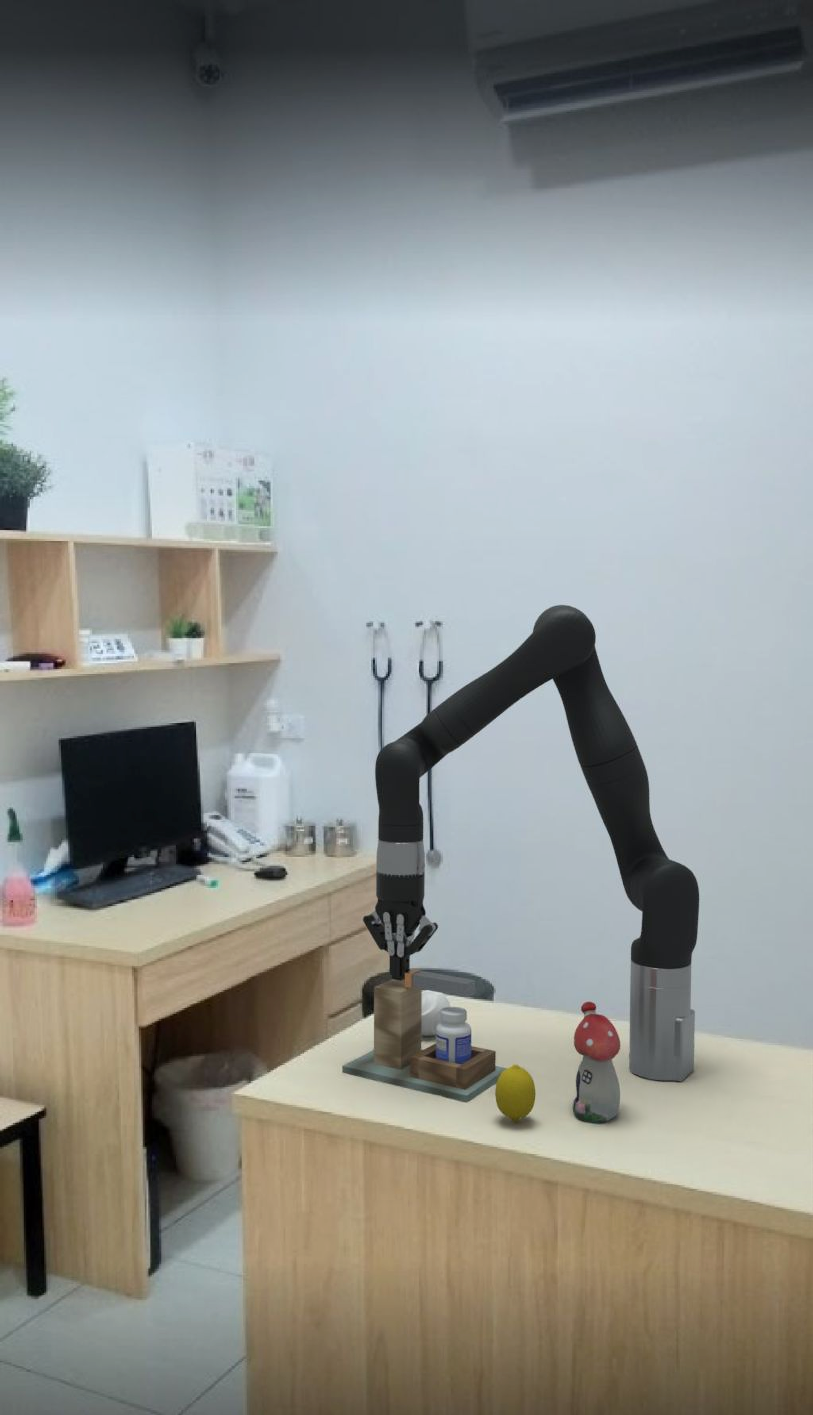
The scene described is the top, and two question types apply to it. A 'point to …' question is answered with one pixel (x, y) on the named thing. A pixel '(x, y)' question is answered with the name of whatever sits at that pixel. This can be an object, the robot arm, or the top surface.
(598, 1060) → the decorative ornament
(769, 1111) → the top surface
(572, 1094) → the top surface
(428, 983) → the bar
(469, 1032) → the pill bottle
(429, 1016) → the white rounded piece
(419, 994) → the socket board
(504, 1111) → the lemon
